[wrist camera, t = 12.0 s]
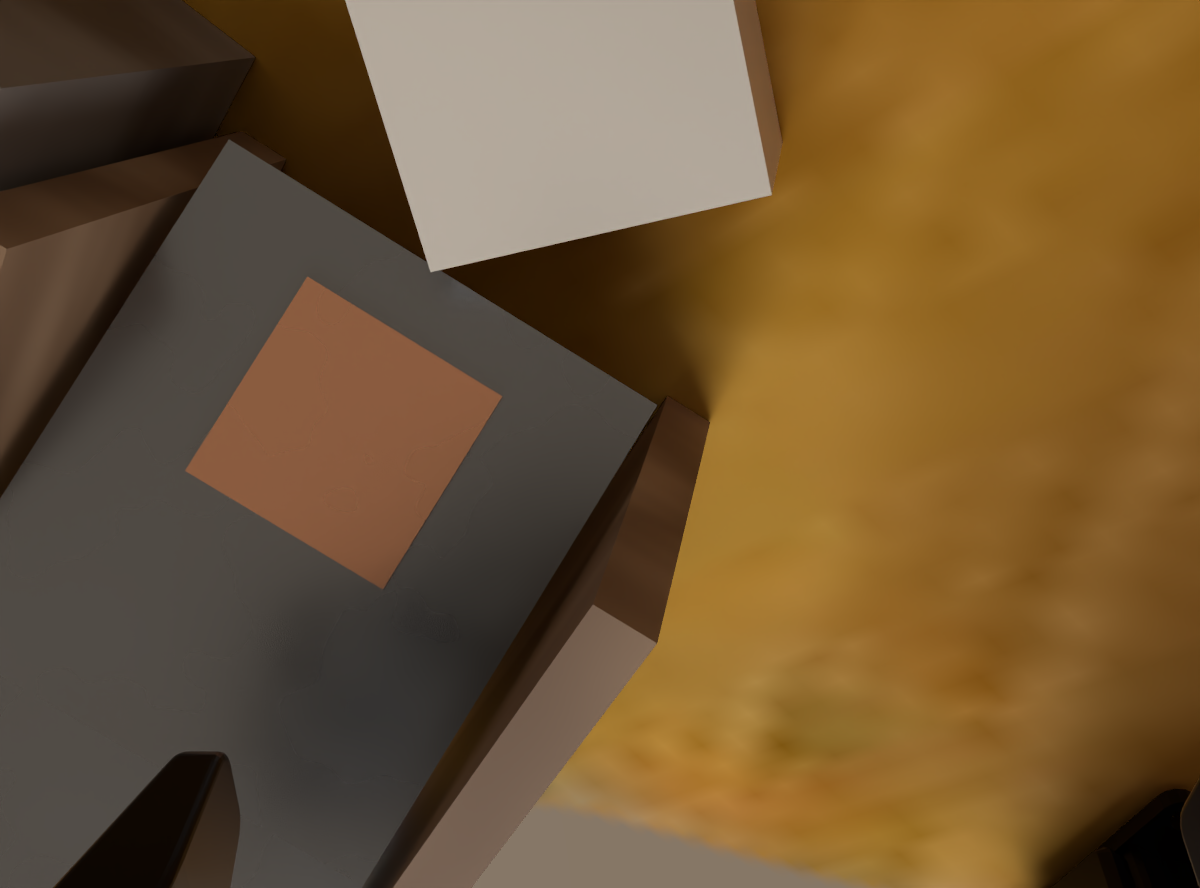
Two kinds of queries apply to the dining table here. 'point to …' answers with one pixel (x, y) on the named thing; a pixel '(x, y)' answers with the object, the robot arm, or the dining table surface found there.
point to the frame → (557, 621)
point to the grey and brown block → (282, 534)
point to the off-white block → (567, 115)
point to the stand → (107, 83)
